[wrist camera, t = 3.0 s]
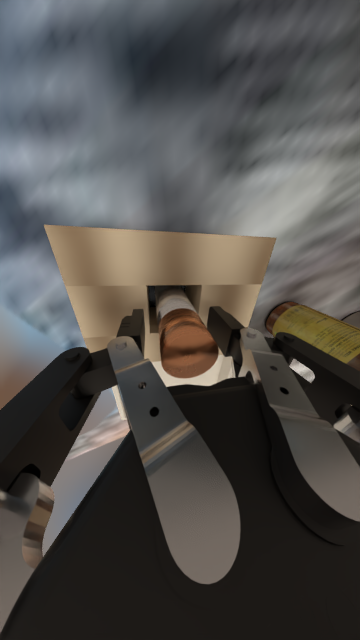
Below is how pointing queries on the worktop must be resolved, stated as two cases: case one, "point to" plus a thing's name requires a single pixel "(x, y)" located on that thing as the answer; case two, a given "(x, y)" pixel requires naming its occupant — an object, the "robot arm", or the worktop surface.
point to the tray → (210, 377)
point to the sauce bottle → (318, 331)
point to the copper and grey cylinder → (182, 335)
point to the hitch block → (154, 275)
